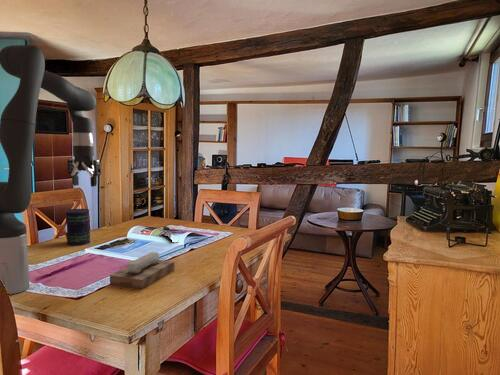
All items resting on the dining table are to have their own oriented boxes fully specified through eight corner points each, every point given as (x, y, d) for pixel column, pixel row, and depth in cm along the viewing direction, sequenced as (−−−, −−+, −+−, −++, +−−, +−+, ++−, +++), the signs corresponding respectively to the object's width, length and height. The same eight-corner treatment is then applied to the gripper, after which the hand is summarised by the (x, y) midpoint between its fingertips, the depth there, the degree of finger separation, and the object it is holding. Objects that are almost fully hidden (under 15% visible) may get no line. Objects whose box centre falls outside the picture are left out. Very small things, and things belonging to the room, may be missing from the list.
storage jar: (94, 243, 176) (92, 210, 174) (71, 247, 169) (70, 213, 167) (85, 239, 183) (84, 207, 181) (63, 242, 176) (61, 210, 174)
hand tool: (179, 242, 179) (179, 232, 178) (171, 243, 177) (171, 233, 177) (169, 234, 196) (169, 225, 195) (161, 234, 194) (161, 225, 194)
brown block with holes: (142, 289, 121) (142, 279, 121) (110, 284, 125) (109, 275, 125) (174, 269, 140) (174, 261, 140) (145, 266, 144) (145, 258, 144)
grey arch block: (135, 284, 126) (135, 264, 125) (127, 282, 127) (127, 263, 126) (159, 270, 139) (158, 253, 138) (151, 269, 140) (151, 252, 139)
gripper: (61, 144, 151) (63, 186, 153) (91, 144, 147) (92, 187, 148) (75, 144, 158) (77, 184, 160) (104, 144, 154) (105, 185, 155)
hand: (84, 185), depth 154 cm, fingers open, 8 cm apart
